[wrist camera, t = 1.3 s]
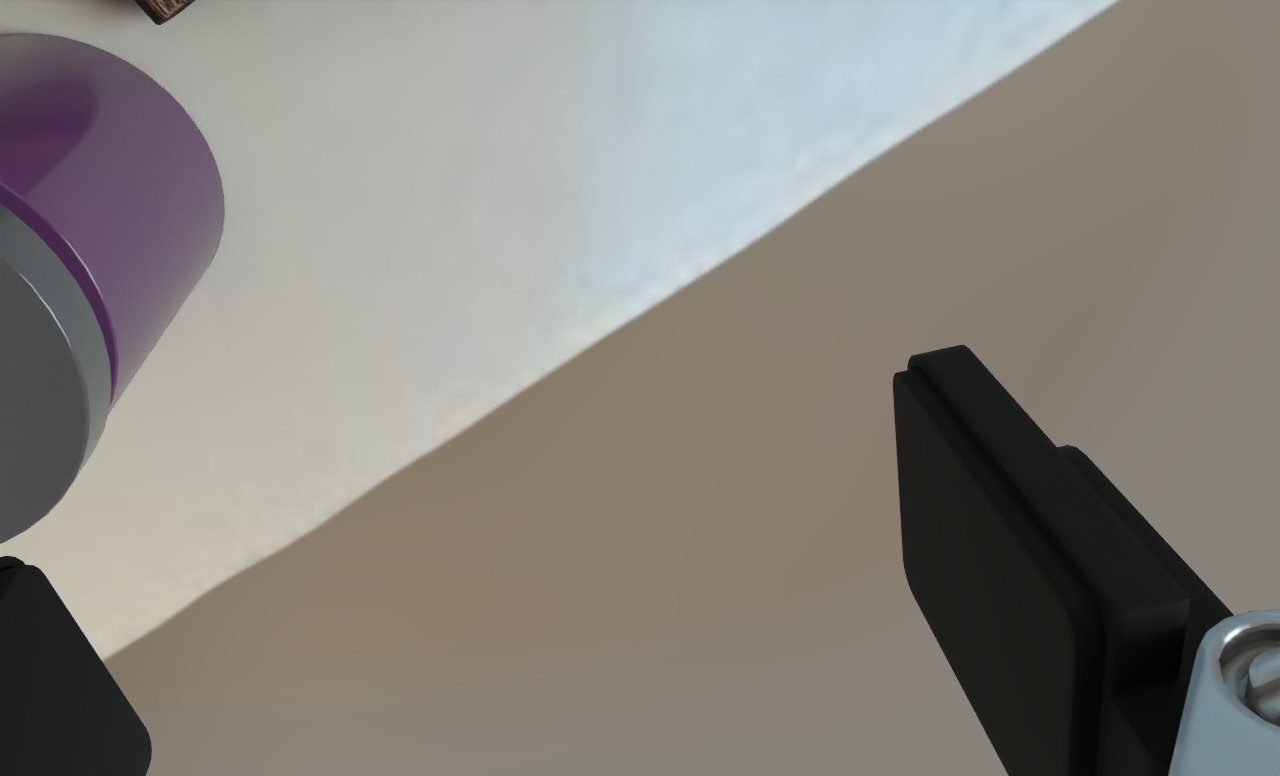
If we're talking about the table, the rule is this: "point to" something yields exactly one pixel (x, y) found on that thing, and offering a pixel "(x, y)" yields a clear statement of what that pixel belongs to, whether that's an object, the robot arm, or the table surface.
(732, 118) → the table surface
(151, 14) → the hardcover book
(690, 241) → the table surface
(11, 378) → the jar
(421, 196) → the table surface
